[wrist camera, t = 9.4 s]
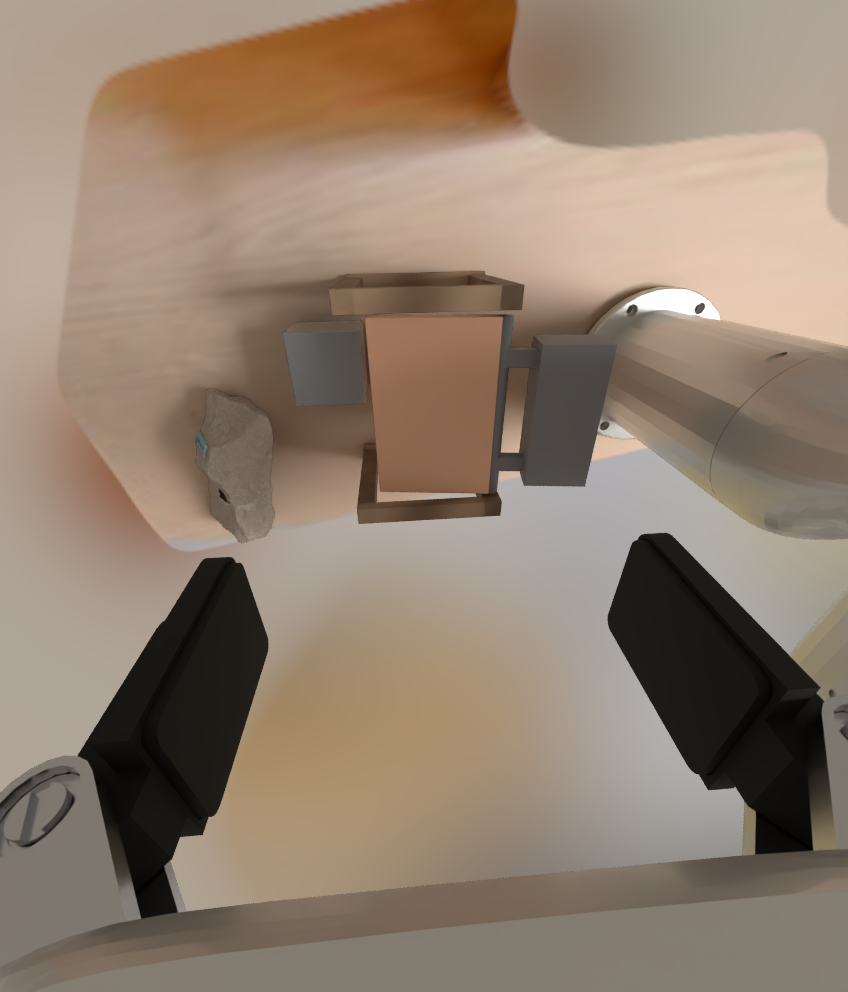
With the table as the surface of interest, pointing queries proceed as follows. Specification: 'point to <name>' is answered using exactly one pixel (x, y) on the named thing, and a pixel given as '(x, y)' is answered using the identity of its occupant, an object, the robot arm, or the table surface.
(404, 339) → the trapdoor
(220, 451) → the concrete fragment
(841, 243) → the table surface
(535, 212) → the table surface
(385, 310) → the frame
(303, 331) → the slate block
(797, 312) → the table surface
